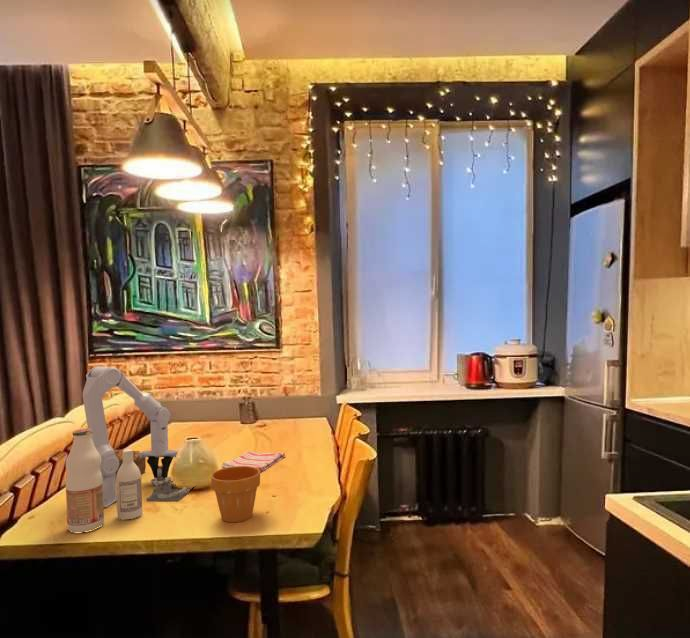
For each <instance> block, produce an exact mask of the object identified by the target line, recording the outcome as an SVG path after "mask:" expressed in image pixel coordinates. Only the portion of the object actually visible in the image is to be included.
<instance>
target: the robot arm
mask: <svg viewBox="0 0 690 638" xmlns="http://www.w3.org/2000/svg"><path fill="white" fill-rule="evenodd" d="M85 377H86V380H85V384H84V387H83V391H82V401H83V406H84V413H85V420H86V425H87V429H92V435H91V438H92V441H93V443H94V445H95V447H96V449H97V451H98V452H99V453H100V456H101V464H100V471H101V473H102V480H103V508H108V507H110V506H111V505H113V504H114V503H115V502H117V492H116V476H115V474H116V471H117V470H118V468H119V460H118V458H117V457H116V455H115V452H114V450H115V449H114V448H113V447H112V446H111V444H110V439H109V435H108V427H107V422H106V421H107V420H106V415H105V410H104V403H103V397H104V395H105V394H106V393H107V392H108V391H109V390H111V389H112V388H114V387H117V388H119V389H120V390H121V391H123V392H124V393H125V394H126V395H128V396H129V397H130V398H131V399H133V400H134V401H133V402H134V406H135V407H136V408H138V409H139V410H140V411H141V412H142V413H144V415H145V416H146V419H147V420H148V421H149V422H150V446H151V447H150V449H151V450H142V451H139V452H140V453H139V457H140V458H143V457H146V458H147V459H146V463H147V464H148V466H149V467H150V469H151V472H152V475H153V479H154V478H157V470H156V467H157V466H159V463H160V462H161V466H162V467H163V478H166V477H169V470H170V466H171V464H172V462H173V459H174V458H176V455H177V453H178V451H179V450H175V449H174V450H173V449H169V432H168V425H169V421H170V419H171V415H172V413H171V412H170V410H169V409H168V407H166V406H162V405H161V404H162V403H161V402H160V401H157V400H156V399H155V398H154V397H153V394H152V393H151V392H142V391H141V390H140V389H139V388H138V387H137V386H136V385H135V384H134V383H133V382H132V381H131V380H130V379H129V378H128V377H127V376H126V375H125V373H124V372H123V371H120V369H119V368H118V367H115V366H101V365H96V366H94V367H92V368H91V369H90V370H89V371H88V372H87V374H86V375H85ZM160 458H161V459H160Z"/></svg>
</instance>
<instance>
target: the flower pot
mask: <svg viewBox="0 0 690 638" xmlns="http://www.w3.org/2000/svg"><path fill="white" fill-rule="evenodd" d="M210 479H211V481H210V484H211V489H212V491H213V492H214V493H215V497H216V501H217V504H218V505H217V506H218V510H219V513H220V517H221V520H223V521H225V522H227V523H240V522H245V521H247V520H249V519H251V518H252V516H253V512H254V507H255V504H256V503H255V501H256V496H257V491H258V487H259V486H260V485H261V473H260V470H259V469H257V468H255V467H249V466H235V467H228V468H223V469H222V468H220V469H218V470H215V471H214V472H212V473H211V475H210Z"/></svg>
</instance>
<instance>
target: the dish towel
mask: <svg viewBox="0 0 690 638" xmlns="http://www.w3.org/2000/svg"><path fill="white" fill-rule="evenodd" d="M285 456H286V454H285V452H277V453H276V452H255V451H247V452H244V453H242V454H241V455H240V456H238V457H236V458H234V459H230V460H228V461H223V462H222V464H221V466H222V467H221V469H223V468H228V467H235V466H249V467H255V468H257V469H259V470H260V474H261V473H262V472H264V471H266V470H268V469H269V468H270V467H272V466H274V465H275V464H276V463H278V462H280V461H281V460H282V459H283V458H285Z"/></svg>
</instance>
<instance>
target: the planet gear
mask: <svg viewBox="0 0 690 638" xmlns="http://www.w3.org/2000/svg"><path fill="white" fill-rule="evenodd" d="M156 470H157V478H154V477H153V478H151V479H150V487H151V486H152V487H153V486H154V487H155V488H157V487H160V486H163V485H165V484H166V483H171V481H172V477H171V476H167V477H166V478H163V467H162V465H158V466H157V467H156Z"/></svg>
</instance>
